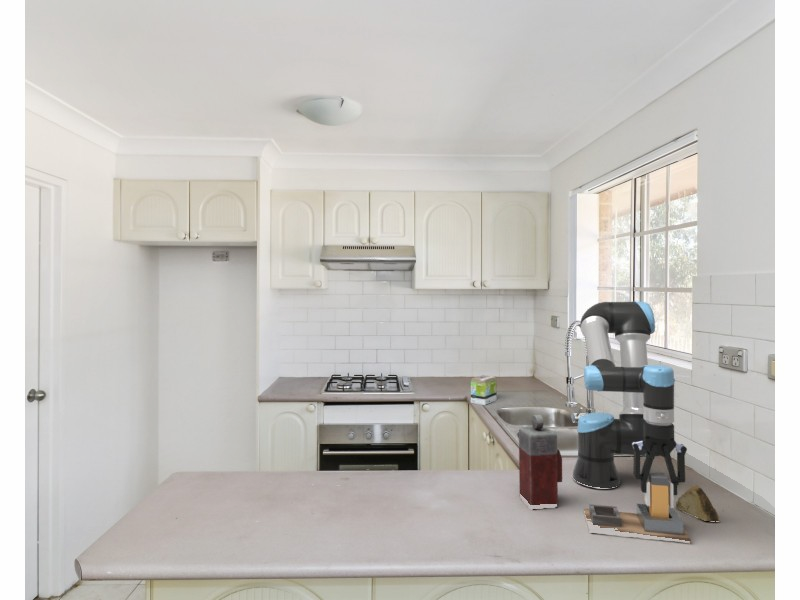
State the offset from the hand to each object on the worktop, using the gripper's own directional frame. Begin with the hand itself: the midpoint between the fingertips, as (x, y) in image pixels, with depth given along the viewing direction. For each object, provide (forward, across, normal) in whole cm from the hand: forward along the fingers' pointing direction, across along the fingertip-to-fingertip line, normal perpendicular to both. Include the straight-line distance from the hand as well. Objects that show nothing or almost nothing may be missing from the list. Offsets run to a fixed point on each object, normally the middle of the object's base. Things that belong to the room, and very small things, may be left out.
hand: (658, 504), depth 133 cm
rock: (+8, +13, +12) cm, 19 cm away
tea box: (+8, -59, +141) cm, 153 cm away
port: (+6, 0, 0) cm, 6 cm away
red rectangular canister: (+7, -31, +11) cm, 34 cm away
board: (+7, -6, 0) cm, 10 cm away
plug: (+6, 0, 0) cm, 6 cm away
